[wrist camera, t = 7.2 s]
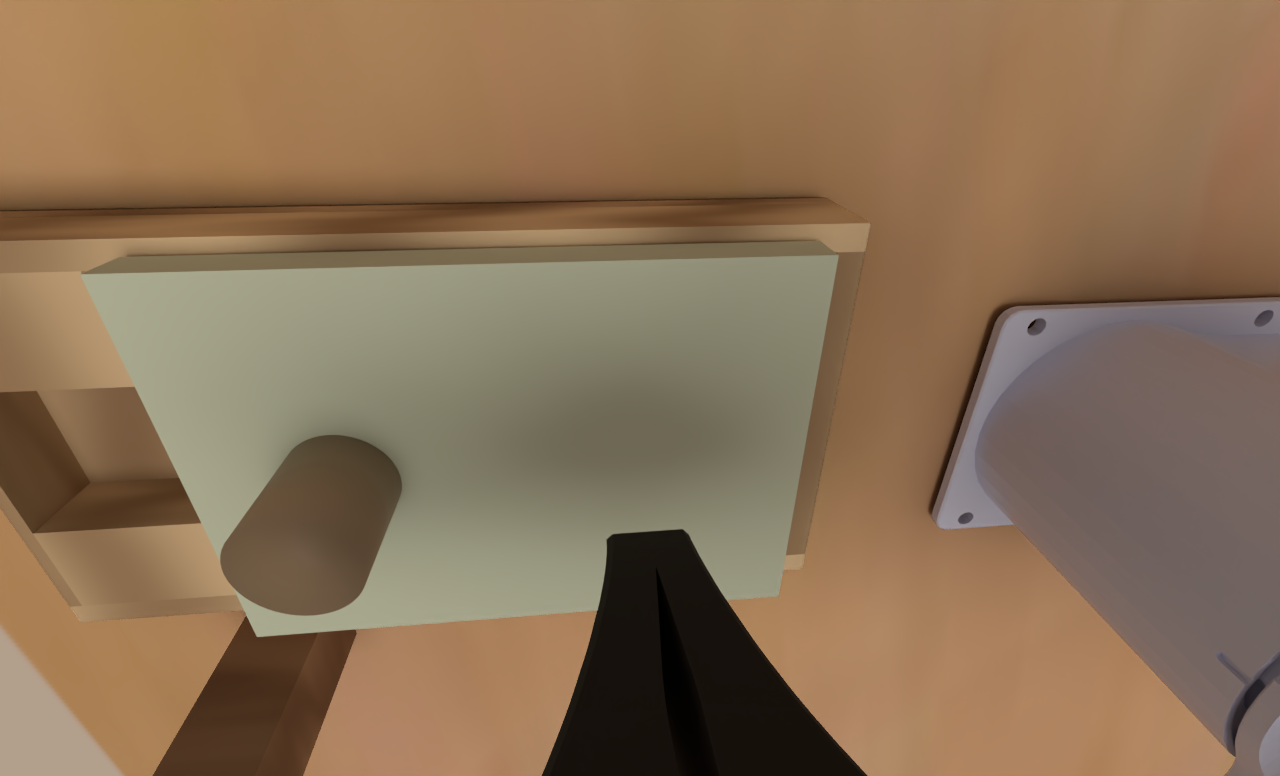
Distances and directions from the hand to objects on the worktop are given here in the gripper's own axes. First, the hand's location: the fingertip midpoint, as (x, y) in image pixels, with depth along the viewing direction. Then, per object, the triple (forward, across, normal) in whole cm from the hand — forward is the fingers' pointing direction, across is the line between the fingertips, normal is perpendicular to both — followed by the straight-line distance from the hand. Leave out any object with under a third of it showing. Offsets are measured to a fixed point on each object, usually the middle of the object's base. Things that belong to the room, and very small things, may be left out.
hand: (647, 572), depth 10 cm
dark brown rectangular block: (+7, +10, +8) cm, 15 cm away
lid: (+4, +3, 0) cm, 5 cm away
